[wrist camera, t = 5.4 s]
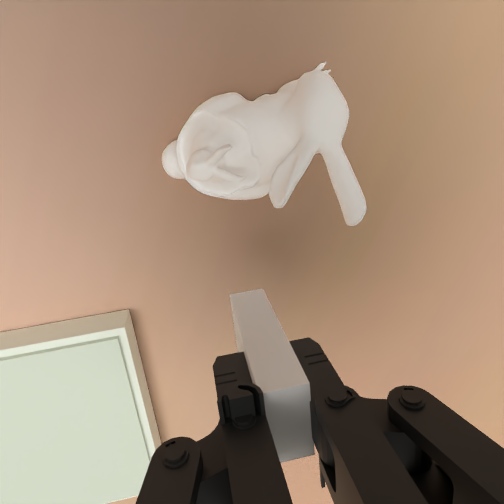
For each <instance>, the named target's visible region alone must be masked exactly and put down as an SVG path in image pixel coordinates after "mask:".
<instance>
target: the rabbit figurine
mask: <svg viewBox="0 0 504 504" xmlns="http://www.w3.org/2000/svg"><path fill="white" fill-rule="evenodd" d="M326 63H327V62H325V63H320V64H319V65H318V67H316V68H315V69H314V70H313V71H310V72H306V73H304V74H303V75H302V76H301V77H300V78H299V79H297V80H294V81H291V82H289V83H287V84H285V85H283V86H282V87H281V88H280V89H279V90H278V91H277V93H275V94H272V95H270V94H264V95H262V96H260V97H258V98H257V99H255V100H254V101H248V100H246V99H245V98H244V97H243V96H241V95H240V94H238V93H236V92H230V93H225V94H221V95H217V96H213V97H211V98H210V99H209V100H207V101H205V102H203V103H202V104H200V105H199V106H198V107H197V108H196V109H195V110H194V112H193V113H192V114H191V116H190V117H189V119H188V120H187V122H186V123H185V125H184V126H183V128H182V130H181V132H180V133H179V136H178V139H177V140H175V141H172V142H171V143H170V144H169V145H168V146H167V147H166V148H165V150H164V151H163V154H162V165H163V168H164V170H165V171H166V173H167V174H168V175H169V176H171V177H173V178H176V179H186V181H187V182H188V183H189V184H190V185H191V186H192V187H193V188H194V189H196V190H197V191H199V192H200V193H202V194H206V195H209V196H214V197H219V198H224V199H229V200H251V199H258V198H261V197H264V196H265V195H267V194H268V193H269V197H270V199H271V203H272V204H273V206H274V207H275V208H282V207H284V205H285V204H286V202H287V201H288V199H289V197H290V195H291V194H292V192H293V190H294V188H295V186H296V185H297V183H298V182H299V180H300V179H301V177H302V176H303V174H304V173H305V171H306V169H307V168H308V166H309V164H310V162H311V160H312V159H313V156H314V155H315V154H319V153H320V154H321V155H322V157H323V159H324V161H325V164H326V167H327V170H328V173H329V176H330V179H331V182H332V185H333V188H334V191H335V193H336V196H337V198H338V201H339V203H340V207H341V210H342V213H343V216H344V220H345V223H346V224H347V225H348V226H355V225H357V224H358V223H359V222H361V221H362V219H363V217H364V215H365V213H366V209H367V207H366V203H365V202H366V199H365V197H364V194H363V193H362V190H361V187H360V185H359V183H358V180H357V178H356V176H355V174H354V172H353V169H352V167H351V165H350V163H349V161H348V159H347V157H346V155H345V152H344V150H343V147H342V139H343V136H344V134H345V131H346V127H347V124H348V120H349V108H348V105H347V102H346V100H345V98H344V96H343V94H342V93H341V91H340V89H339V88H338V86H337V84H336V83H335V81H334V80H333V78H334V77H331V76H330V75H328V74H329V72H330V71H331V69H329V70H324V71H321V70H322V69H323V68H324V65H325V64H326Z"/></svg>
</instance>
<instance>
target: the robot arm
mask: <svg viewBox="0 0 504 504" xmlns="http://www.w3.org/2000/svg"><path fill="white" fill-rule="evenodd" d="M229 296H230V303H231V310H232V317H233V324H234V331H235V338H236V344H237V350H238V353H234V354H229V355H224V356H219V357H217V358H216V360H215V363H214V365H213V371H214V377H215V384H216V391H217V398H218V401H217V404H218V410H219V415H220V420H219V423H218V425H217V427H216V428H215V430H214V431H213V432H212V433H211V434H209V435H208V436H206V437H205V438H203V439H201V440H199V441H197V442H196V441H194V440H193V439H191V438H188V437H177V438H172V439H170V440H168V441H166V442H164V443H162V444H161V445H160V446H159V447H158V448H157V449H156V450H155V452H154V454H153V456H152V458H151V461H150V463H149V466H148V469H147V472H146V475H145V478H144V481H143V484H142V487H141V490H140V492H139V495H138V498H137V501H136V504H293V503H292V500H291V497H290V493H289V490H288V487H287V483H286V480H285V477H284V473H283V470H282V467H281V462H286V461H290V460H294V459H298V458H302V457H306V456H311V455H315V452H314V444H315V446H316V449H317V451H318V453H319V465H320V480H321V487H322V488H323V487H325V482H326V484H327V487H328V489H329V492H330V494H331V497H332V499H333V502H334V504H504V448H502V447H501V446H500V445H498V444H497V443H496V442H494V441H493V440H492V439H490V438H489V437H488V436H486V435H485V434H484V433H482V432H481V431H480V430H478V429H477V428H476V427H474V426H473V425H472V424H470V423H469V422H467V421H466V420H465V419H463V418H462V417H461V416H459V415H458V414H457V413H455V412H454V411H453V410H451V409H450V408H449V407H447V406H446V405H445V404H443V403H442V402H441V401H439V400H438V399H437V398H435V397H434V396H433V395H431V394H430V393H429V392H427V391H425V390H423V389H421V388H418V387H414V386H400V387H396V388H394V389H393V390H391V391H390V392H389V395H388V397H387V399H369V398H363V397H360V396H359V395H358V394H357V393H356V392H355V391H354V390H353V389H352V388H349V387H347V386H344V384H343V382H342V381H341V379H340V378H339V376H338V374H337V373H336V371H335V369H334V368H333V366H332V365H331V363H330V361H328V358H327V356H326V355H325V354H324V352H323V350H322V348H321V347H320V345H319V344H318V343H317V342H315V341H314V340H312V339H311V338H304V339H299V340H294V341H289V340H288V338H287V336H286V334H285V332H284V330H283V328H282V326H281V324H280V322H279V320H278V318H277V316H276V314H275V312H274V310H273V308H272V306H271V304H270V302H269V300H268V298H267V296H266V294H265V292H264V290H263V288H262V289H256V290H250V291H245V292H239V293H234V294H229Z"/></svg>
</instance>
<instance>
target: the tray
mask: <svg viewBox="0 0 504 504" xmlns="http://www.w3.org/2000/svg"><path fill="white" fill-rule="evenodd" d="M160 445H161V440H160V435H159V431H158V427H157V423H156V419H155V415H154V411H153V407H152V402H151V398H150V394H149V390H148V386H147V382H146V378H145V373H144V369H143V365H142V361H141V357H140V353H139V349H138V344H137V340H136V336H135V332H134V328H133V324H132V320H131V316H130V311H129V309H126V310H121V311H115V312H110V313H104V314H99V315H93V316H88V317H82V318H77V319H71V320H66V321H60V322H54V323H49V324H43V325H38V326H32V327H27V328H21V329H16V330H10V331H5V332H0V504H106V503H110V502H114V501H119V500H123V499H127V498H131V497H135V496H138V495H139V492H140V490H141V487H142V484H143V481H144V478H145V475H146V472H147V469H148V466H149V463H150V461H151V458H152V456H153V454H154V452H155V450H156V449H157V448H158V447H159V446H160Z"/></svg>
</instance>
